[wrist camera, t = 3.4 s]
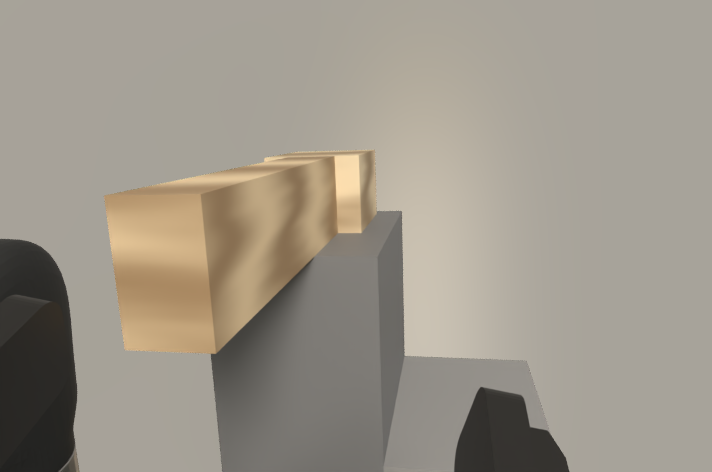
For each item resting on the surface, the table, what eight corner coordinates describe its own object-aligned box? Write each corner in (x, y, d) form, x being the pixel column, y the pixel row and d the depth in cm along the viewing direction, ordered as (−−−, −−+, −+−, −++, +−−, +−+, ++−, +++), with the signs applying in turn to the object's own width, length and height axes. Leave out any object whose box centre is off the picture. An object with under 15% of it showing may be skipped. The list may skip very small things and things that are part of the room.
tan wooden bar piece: (263, 355, 13) (251, 193, 12) (81, 348, 14) (58, 196, 13) (376, 213, 33) (374, 149, 32) (300, 214, 34) (296, 151, 33)
